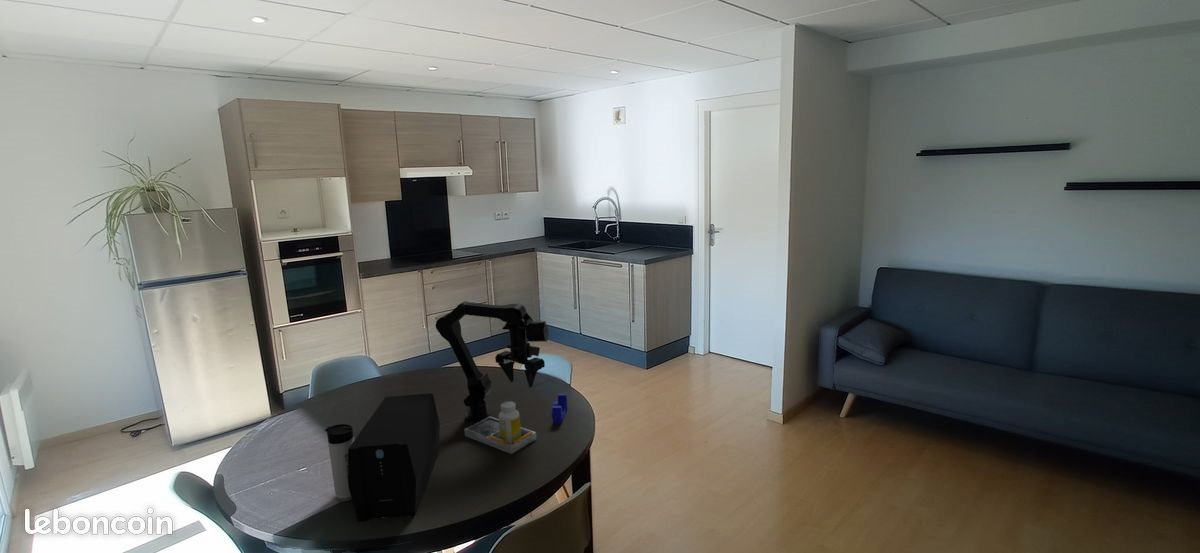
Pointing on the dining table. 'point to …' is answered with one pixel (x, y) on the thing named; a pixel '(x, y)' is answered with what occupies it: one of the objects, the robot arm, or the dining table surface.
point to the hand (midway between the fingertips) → (521, 384)
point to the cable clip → (559, 409)
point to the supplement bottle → (509, 422)
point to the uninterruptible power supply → (394, 457)
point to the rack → (497, 435)
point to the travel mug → (340, 458)
